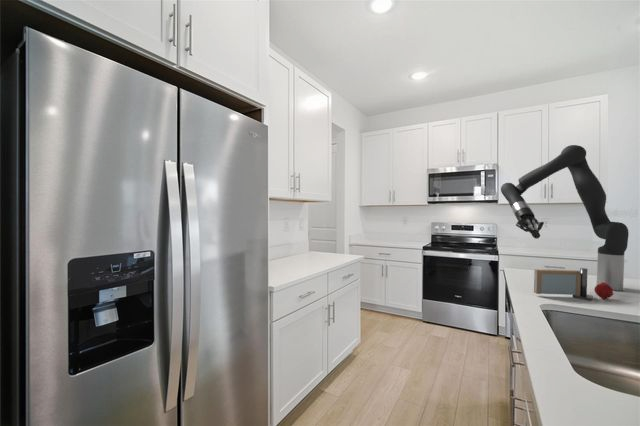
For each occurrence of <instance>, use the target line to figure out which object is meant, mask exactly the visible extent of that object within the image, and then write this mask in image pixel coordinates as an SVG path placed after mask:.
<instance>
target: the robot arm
mask: <svg viewBox="0 0 640 426" xmlns="http://www.w3.org/2000/svg"><path fill="white" fill-rule="evenodd" d="M586 157H587V150H586V149H585V148H584V147H583V146H581V145H578V144H571V145H568V146H565V147H564V148H563V149H562V150H561V152H560V154H558V156H555V158H553V159H551V160H550V161H549V162H547V163H545V164H542V165H541V166H539V167H537V168H534V169H533V170H531V171H529V172H528V173H526V174H524V175H522V176H521V177H519V178H518V179H517V181H518V184H517V185H515V184H513V182H506V183H505V182H504V183H503V184H502V185H501V187H500V193H501V194H502V195H503V197H504V198H505V200H506V201H507V203H508V204H509V206H510V208H511V210H512V212H513V214H514V216H515V218H516V219H517V222H516V223H515V226H516V227H518V228H519V229H521V230H522V231H523V232H526V233H527V232H529V233H530V234H531V236H532V237H533V238H534V239H539V238H540V237H541V234H540V230H542V228H543V226H544V224H545V223H544V221H539V220H538V219H537V218H536V216H535V214H534V212H533V210H532V209H531V207H530V206H529V204H528V203H527V202H526V200H525V199H524V197H523V196H522V195H523V194H524V193H525V192H526V191H527V190H528V189H530V188H531V187H533V186H534V185H537V184H538V183H540V182H542V181H543V180H545V179H547V178H548V177H551V175H554V174H555V173H557V172H560V171H562V170H563V169H568V171H569V172H570V175H571V177H572V181H573V184H574V188H575V189H576V192H577V194H578V196H579V198H580V201H581V202H582V204H583V206H584V208H585V211H586V213H587V215H588V217H589V220H590V223H591V226H592V230H593V232H594V234H595V235H596V236H597V238H600V239H602V240H604V244H603V245H602V246H598V248H597V261H596V262H597V264H596V265H597V267H596V286H597V285H598V284H600V283H602V281H605V283H606V284H608V285H609V286H610V287H611V288H612V289H613V291H618V292H621V291H622V292H623V291H624V275H625V273H624V272H625V252H626V251H627V248H628V243H629V228H628V227H627V225H626V224H624V223H623V222H619V221H611V220H610V218H609V217H608V214H607V212H606V202H607V194H606V192H605V190H604V187H603V186H602V184H601V182H600V181H599V179H598V177H597V176H596V175H595V173H594V172H593V170H592V169H591V168H590V166H589V163H588V160H587V158H586Z"/></svg>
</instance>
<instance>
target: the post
mask: <svg viewBox="0 0 640 426" xmlns="http://www.w3.org/2000/svg"><path fill="white" fill-rule="evenodd" d="M579 271H581V283H580V295H572V298H574V299H580V300H584V301H585V300H586V301H590V302H591V301H592V300H593V299H594V295H593V294H588V291H587V290H588V268H585V267H580V268H579Z"/></svg>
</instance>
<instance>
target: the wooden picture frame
mask: <svg viewBox="0 0 640 426" xmlns="http://www.w3.org/2000/svg"><path fill="white" fill-rule="evenodd" d="M533 270H534V272H533V273H534V275H533V279H534V282H533V293H534V294H538V295H541V294H542V295H567V296H569V295H572V296H573V295H580V283H581V271H580V270H573V269H572V270H571V269H569V270H567V269H536V268H535V269H533Z"/></svg>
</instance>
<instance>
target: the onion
mask: <svg viewBox="0 0 640 426" xmlns="http://www.w3.org/2000/svg"><path fill="white" fill-rule="evenodd" d="M593 290H594V293H595V294H596V296H598V297H599V298H600V299H602V300H606V299H609V298H611V297H612V296H613V295H614V290H613V289H612V288H611V287H610V286H609V285H608V284H606V283H605V281H602V283H600V284H598V285H597V284H596V285H595V287H594V289H593Z"/></svg>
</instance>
